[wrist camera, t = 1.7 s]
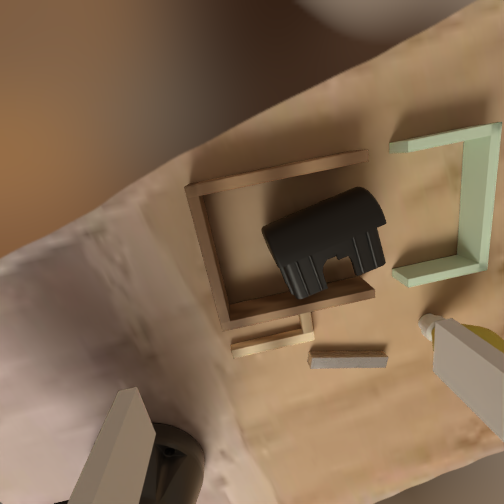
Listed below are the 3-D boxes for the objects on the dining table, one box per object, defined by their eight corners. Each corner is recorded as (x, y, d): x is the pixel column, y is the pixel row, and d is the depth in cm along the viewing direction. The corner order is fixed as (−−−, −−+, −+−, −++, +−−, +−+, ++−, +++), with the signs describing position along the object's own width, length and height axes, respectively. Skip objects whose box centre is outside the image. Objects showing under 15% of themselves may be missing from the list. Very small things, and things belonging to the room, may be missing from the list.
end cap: (344, 182, 29) (379, 188, 22) (361, 242, 31) (397, 263, 25) (256, 220, 29) (265, 237, 23) (279, 276, 31) (294, 306, 25)
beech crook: (232, 352, 34) (233, 358, 33) (224, 319, 32) (224, 324, 31) (311, 334, 34) (314, 340, 33) (306, 300, 33) (309, 305, 31)
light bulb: (413, 294, 34) (487, 347, 24) (460, 301, 35) (548, 354, 25) (394, 341, 36) (456, 405, 26) (439, 346, 37) (515, 410, 27)
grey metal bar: (306, 359, 36) (310, 368, 34) (308, 349, 35) (312, 357, 34) (378, 359, 37) (385, 367, 35) (381, 348, 36) (388, 357, 35)
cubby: (222, 313, 32) (222, 331, 29) (189, 183, 27) (184, 187, 24) (359, 283, 32) (375, 297, 29) (350, 150, 28) (368, 149, 24)
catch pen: (392, 276, 33) (408, 287, 30) (389, 143, 28) (408, 140, 25) (464, 260, 33) (487, 270, 30) (474, 125, 28) (502, 121, 25)
